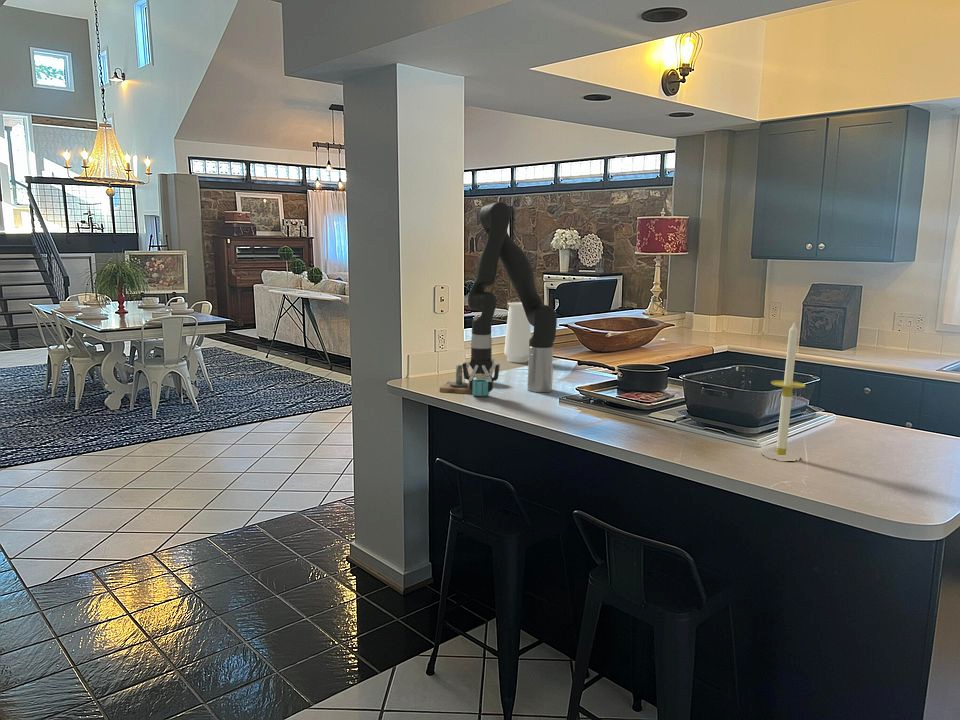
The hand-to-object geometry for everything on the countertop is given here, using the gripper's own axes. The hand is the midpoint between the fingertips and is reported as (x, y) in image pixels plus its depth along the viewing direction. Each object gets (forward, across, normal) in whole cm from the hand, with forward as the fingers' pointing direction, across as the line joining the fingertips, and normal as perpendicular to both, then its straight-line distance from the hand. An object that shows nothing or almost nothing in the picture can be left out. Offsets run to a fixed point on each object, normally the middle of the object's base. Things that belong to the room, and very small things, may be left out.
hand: (480, 390), depth 249 cm
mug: (+2, +6, -25) cm, 26 cm away
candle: (+3, -94, +48) cm, 106 cm away
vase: (+2, -2, -80) cm, 80 cm away
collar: (+1, 0, 0) cm, 1 cm away
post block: (+2, +10, -8) cm, 13 cm away
